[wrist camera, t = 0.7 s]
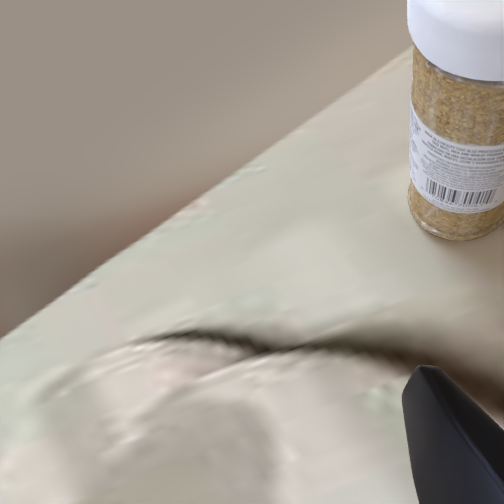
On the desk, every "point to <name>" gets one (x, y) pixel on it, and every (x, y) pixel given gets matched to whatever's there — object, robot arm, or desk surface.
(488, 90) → the sprinkles bottle
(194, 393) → the desk surface
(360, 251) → the desk surface
